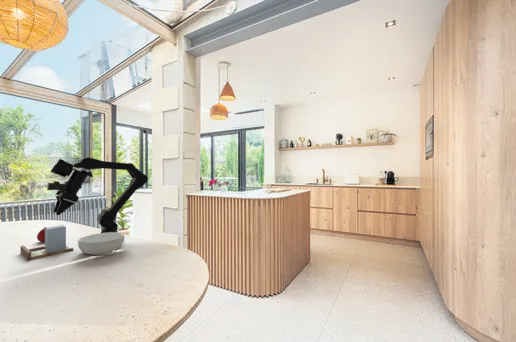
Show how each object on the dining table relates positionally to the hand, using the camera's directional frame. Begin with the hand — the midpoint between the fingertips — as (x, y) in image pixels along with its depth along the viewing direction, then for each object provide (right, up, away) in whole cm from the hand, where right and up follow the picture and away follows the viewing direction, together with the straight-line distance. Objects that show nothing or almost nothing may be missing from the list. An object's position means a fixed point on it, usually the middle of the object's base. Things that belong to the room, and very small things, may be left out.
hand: (55, 213), depth 107 cm
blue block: (+2, -15, -2) cm, 16 cm away
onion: (-13, -16, +10) cm, 23 cm away
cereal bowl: (+22, -17, -2) cm, 28 cm away
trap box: (0, -17, -4) cm, 17 cm away
